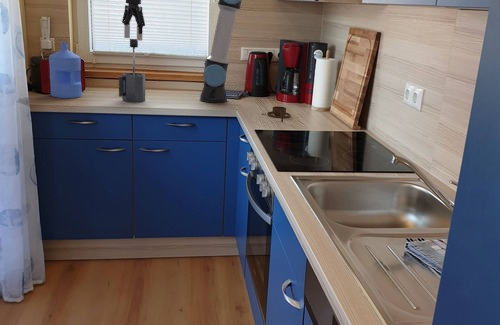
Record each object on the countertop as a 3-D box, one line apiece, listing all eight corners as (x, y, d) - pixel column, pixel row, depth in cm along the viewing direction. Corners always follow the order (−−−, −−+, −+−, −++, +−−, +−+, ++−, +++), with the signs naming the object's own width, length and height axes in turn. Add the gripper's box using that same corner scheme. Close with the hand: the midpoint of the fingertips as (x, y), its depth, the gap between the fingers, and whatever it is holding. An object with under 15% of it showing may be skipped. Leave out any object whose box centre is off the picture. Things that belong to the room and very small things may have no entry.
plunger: (137, 77, 272) (137, 38, 266) (144, 79, 266) (144, 39, 260) (123, 78, 267) (123, 38, 261) (130, 80, 261) (130, 39, 255)
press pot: (138, 98, 278) (138, 72, 273) (148, 102, 270) (148, 75, 265) (114, 99, 269) (114, 73, 265) (124, 103, 261) (124, 76, 257)
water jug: (45, 94, 270) (42, 40, 261) (72, 92, 281) (70, 40, 273) (60, 99, 260) (57, 43, 252) (87, 97, 272) (86, 43, 263)
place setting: (299, 117, 260) (300, 106, 258) (284, 124, 242) (285, 112, 241) (268, 112, 267) (268, 101, 265) (251, 119, 250) (252, 107, 248)
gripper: (115, -6, 261) (115, 36, 267) (138, -4, 243) (138, 41, 249) (128, -5, 266) (128, 37, 272) (152, -3, 248) (151, 41, 254)
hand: (133, 39), depth 261 cm, fingers open, 13 cm apart
